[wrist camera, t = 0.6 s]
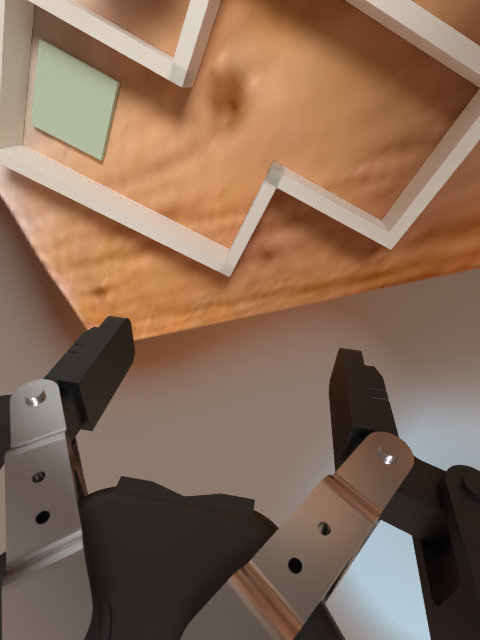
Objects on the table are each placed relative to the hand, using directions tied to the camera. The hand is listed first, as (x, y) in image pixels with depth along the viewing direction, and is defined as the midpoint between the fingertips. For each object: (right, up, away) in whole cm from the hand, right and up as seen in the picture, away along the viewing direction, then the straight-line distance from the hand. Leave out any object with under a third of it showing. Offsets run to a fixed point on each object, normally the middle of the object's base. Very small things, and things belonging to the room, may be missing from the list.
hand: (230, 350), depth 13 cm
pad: (-15, +21, +19) cm, 32 cm away
